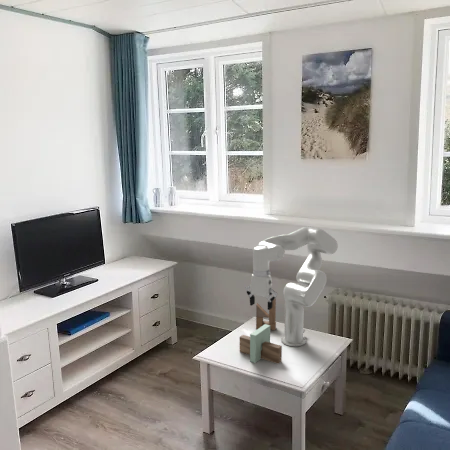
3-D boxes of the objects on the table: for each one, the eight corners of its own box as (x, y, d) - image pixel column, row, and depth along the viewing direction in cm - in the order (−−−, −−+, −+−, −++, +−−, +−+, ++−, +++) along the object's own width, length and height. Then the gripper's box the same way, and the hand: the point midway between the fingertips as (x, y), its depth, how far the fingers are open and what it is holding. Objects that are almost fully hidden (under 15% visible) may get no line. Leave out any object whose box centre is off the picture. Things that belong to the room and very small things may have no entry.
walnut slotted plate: (242, 349, 240) (242, 334, 238) (281, 361, 227) (281, 345, 226) (239, 351, 237) (239, 336, 236) (278, 363, 225) (278, 348, 223)
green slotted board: (264, 350, 239) (265, 324, 236) (269, 351, 237) (270, 325, 234) (250, 361, 228) (250, 334, 225) (255, 363, 226) (255, 335, 223)
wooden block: (256, 326, 267) (256, 296, 263) (275, 327, 265) (276, 297, 261) (256, 329, 263) (256, 298, 260) (275, 330, 262) (276, 299, 258)
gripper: (281, 273, 222) (280, 308, 225) (249, 267, 231) (249, 300, 235) (273, 278, 216) (273, 313, 219) (241, 271, 225) (241, 305, 229)
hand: (261, 306), depth 227 cm, fingers open, 9 cm apart
